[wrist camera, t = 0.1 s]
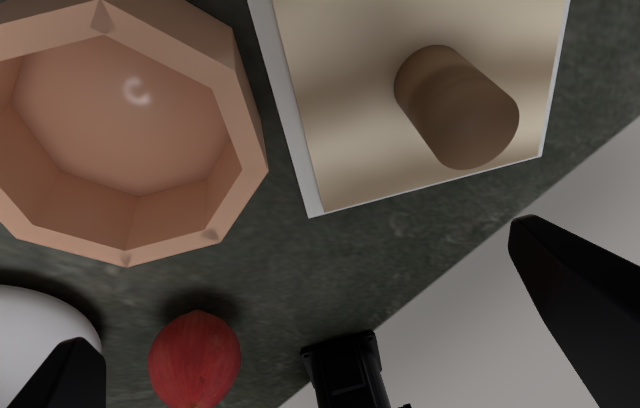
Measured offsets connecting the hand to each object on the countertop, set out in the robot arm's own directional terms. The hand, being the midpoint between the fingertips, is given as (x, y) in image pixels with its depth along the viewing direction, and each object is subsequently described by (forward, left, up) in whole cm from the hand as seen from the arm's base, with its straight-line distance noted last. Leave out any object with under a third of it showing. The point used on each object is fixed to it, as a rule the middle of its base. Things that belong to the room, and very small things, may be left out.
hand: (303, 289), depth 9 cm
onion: (-17, +9, -15) cm, 24 cm away
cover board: (-3, -8, -14) cm, 16 cm away
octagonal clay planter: (-1, +6, -14) cm, 16 cm away
